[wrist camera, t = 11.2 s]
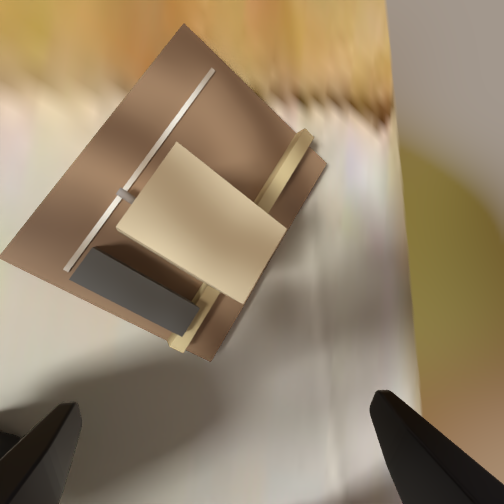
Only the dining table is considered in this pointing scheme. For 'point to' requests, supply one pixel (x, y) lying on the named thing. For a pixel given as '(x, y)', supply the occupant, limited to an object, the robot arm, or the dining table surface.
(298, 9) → the dining table surface
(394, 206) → the dining table surface
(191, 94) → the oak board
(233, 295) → the cream rectangular block
